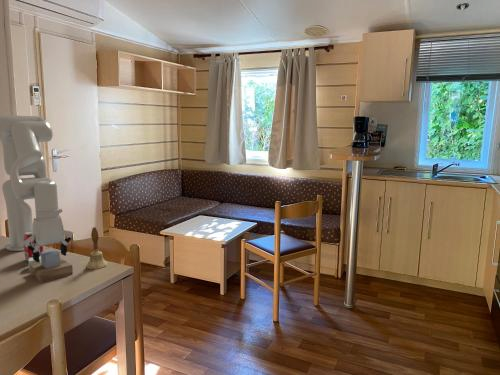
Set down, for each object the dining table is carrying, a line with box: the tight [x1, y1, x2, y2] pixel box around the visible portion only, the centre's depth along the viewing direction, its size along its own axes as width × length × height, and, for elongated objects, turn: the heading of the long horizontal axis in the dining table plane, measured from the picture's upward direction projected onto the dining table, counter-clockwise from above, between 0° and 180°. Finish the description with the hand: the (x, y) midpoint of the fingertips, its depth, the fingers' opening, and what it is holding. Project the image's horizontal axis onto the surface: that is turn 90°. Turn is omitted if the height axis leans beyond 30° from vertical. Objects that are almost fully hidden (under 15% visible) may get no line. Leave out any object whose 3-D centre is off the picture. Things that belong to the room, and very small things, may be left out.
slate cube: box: [41, 249, 61, 268], centre depth 145 cm, size 5×5×5 cm
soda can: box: [23, 231, 45, 262], centre depth 159 cm, size 7×7×12 cm
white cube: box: [27, 256, 41, 272], centre depth 151 cm, size 4×4×4 cm
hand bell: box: [85, 226, 108, 270], centre depth 154 cm, size 8×8×16 cm
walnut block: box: [30, 257, 74, 283], centre depth 145 cm, size 11×11×4 cm
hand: (50, 258), depth 145 cm, fingers open, 9 cm apart
